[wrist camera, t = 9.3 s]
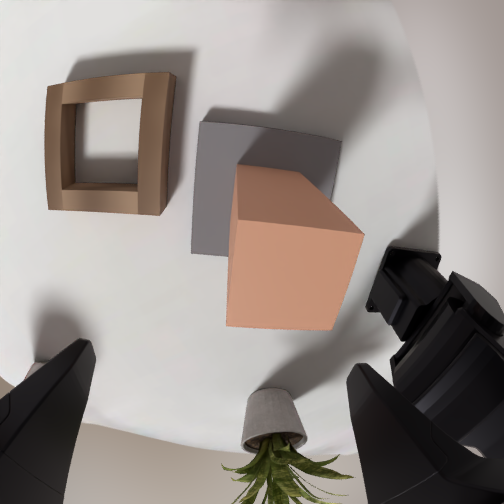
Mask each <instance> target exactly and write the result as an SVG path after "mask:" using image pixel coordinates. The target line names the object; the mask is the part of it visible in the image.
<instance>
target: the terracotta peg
mask: <svg viewBox="0 0 504 504" xmlns="http://www.w3.org/2000/svg"><path fill="white" fill-rule="evenodd" d="M363 238H364V233H363V232H362V231H361V230H360V229H359V228H358V227H357V226H356V225H355V224H354V223H353V222H352V221H351V220H350V219H349V218H348V217H347V216H346V215H345V214H344V213H343V212H342V211H341V210H340V209H339V208H338V207H337V206H336V205H335V204H333V203H332V202H331V201H330V200H329V199H328V198H327V197H326V196H325V195H324V194H323V193H322V192H321V191H320V190H319V189H318V188H316V187H315V186H314V185H313V184H312V183H311V182H310V181H309V180H308V179H307V178H305V177H304V176H303V175H302V174H301V173H300V172H295V171H288V170H281V169H274V168H267V167H259V166H250V165H241V164H237V167H236V175H235V183H234V192H233V201H232V210H231V219H230V235H229V257H228V283H227V314H226V326H231V327H246V328H264V329H287V330H332V328H333V326H334V323H335V321H336V318H337V315H338V313H339V310H340V307H341V305H342V302H343V299H344V296H345V294H346V291H347V288H348V285H349V282H350V279H351V276H352V273H353V270H354V267H355V264H356V261H357V258H358V254H359V251H360V248H361V245H362V241H363Z"/></svg>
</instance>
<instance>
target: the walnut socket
mask: <svg viewBox="0 0 504 504" xmlns="http://www.w3.org/2000/svg"><path fill="white" fill-rule="evenodd" d="M175 84H176V76H174V75H173V74H171V73H170V72H159V73H137V74H124V75H113V76H104V77H96V78H89V79H83V80H77V81H71V82H66V83H61V84H56V85H51V86H48V87H47V97H46V111H45V176H46V190H47V201H48V210H66V211H88V212H107V213H124V214H140V215H155V216H160V215H161V213H162V212H163V211H164V209H165V208H166V207H167V181H168V161H169V145H170V132H171V121H172V110H173V101H174V92H175ZM122 99H142V106H141V118H140V131H139V150H138V184H124V183H75V117H76V104H79V103H88V102H97V101H108V100H122Z"/></svg>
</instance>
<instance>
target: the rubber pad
mask: <svg viewBox="0 0 504 504" xmlns="http://www.w3.org/2000/svg"><path fill="white" fill-rule="evenodd" d="M341 142H342V141H339V140H334V139H330V138H325V137H320V136H315V135H310V134H304V133H298V132H292V131H286V130H280V129H273V128H265V127H258V126H249V125H240V124H230V123H218V122H204V121H200V124H199V134H198V144H197V156H196V168H195V182H194V197H193V216H192V239H191V253H192V254H203V255H215V256H226V257H229V235H230V219H231V210H232V201H233V192H234V183H235V175H236V167H237V164H241V165H250V166H259V167H267V168H274V169H281V170H288V171H295V172H300V173H301V174H302V175H303V176H304V177H305V178H307V179H308V180H309V181H310V182H311V183H312V184H313V185H314V186H315V187H316V188H318V189H319V190H320V191H321V192H322V193H323V194H324V195H325V196H326V197H327V198H328V199H329V200H330V199H331V194H332V189H333V184H334V179H335V174H336V169H337V164H338V159H339V153H340V148H341Z"/></svg>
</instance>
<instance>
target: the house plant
mask: <svg viewBox="0 0 504 504" xmlns="http://www.w3.org/2000/svg"><path fill="white" fill-rule="evenodd" d="M306 442H307V435H306V432H305V430H304V427H303V425H302V423H301V420H300V418H299V415H298V413H297V410H296V408H295V405H294V403H293V400H292V398H291V395H290V394H289V392H287V391H286V390H283V389H279V388H267V389H262V390H258V391H256V392H254V393H253V394H252V395H251V396H250V397H249V398H248V401H247V407H246V414H245V421H244V427H243V434H242V441H241V447H242V449H243V450H244V451H246V452H248V453H251V454H256V456H255V458H254V459H253V460H252V461H251V462H250V463H249V464H248V465H246V466H245V467H242V468H239V469H229V468H226V467H224V466H223V465H222V466H223V469H224V470H229V471H232V470H237V471H235V473H240V474H246V473H247V474H246V475H245V476H243V477H242V478H240V479H238V480H234V479H232V480H233V481H240V482H250V484H249V485H248V487H249V486H250V485H251V483H252V481H254V480H255V479H256V478H257V479H256V481H255V483H254V485H253V486H252V487H251V488H250V490H249V491H248V493H247V495H246V496H245V497H244V498H242V499H241V501H240V502H242V501H243V502H242V503H241V504H253V503H254V501H255V499H256V496H257V494H258V491H259V489H260V488H261V487H262V486H263V485H264V482H265V480H266V478H267V485H268V487H267V491H266V494H265V497H264V499H263V502H262V504H265V501H266V498H267V494H268V504H289V498H288V495H289V497H290V498H291V499H292V500H293V501H294V502H295V503H296V504H302V503H301V502H300V501H299V500H298V499H297V498H296V497H301V496H302V497H304V498H305V499H307V500H309V501H311V502H314V503H319V504H336V503H326V502H322V501H319V500H317V499H314V498H312V497H311V496H313V497H315V498H318V497H316V496H314V495H312V494H311V493H310V492H309V491H308V490H307V489H306V488H305V486H304V485H303V484H302V483H301V482H300V481H299V479H298V478H299V477H297V476H296V475H295V474H294V473H293V472H292V471H291V469H292V468H291V467H290V468H291V469H290V468H289V465H288V464H291V465H292V466H294V467H296V468H298V469H299V470H301V471H303V472H305V473H307V474H310V475H314V476H318V477H323V478H329V479H348V478H353V477H352V476H349V475H341V474H340V473H338V472H336V471H334V470H331V469H327V468H324V467H322V466H324V465H327V464H329V463H331V462H333V461H334V460H336V459H337V457H338V456H339V455H340V454H339V455H338V456H337V457H335V458H333V459H331V460H327V461H323V462H313V461H311V460H310V459H307V458H306V457H304V456H303V455H301V454H299V453H298V452H297V451H296V449H298V448H300V447H301V446H303V445H304V444H305V443H306ZM292 470H293V469H292ZM289 471H290V472H289ZM293 471H294V470H293ZM294 472H295V471H294ZM295 473H296V472H295ZM291 474H292V475H293V476H292V475H291ZM296 474H297V473H296ZM297 475H298V474H297ZM298 476H299V475H298ZM272 477H273V483H272ZM293 478H295V479H296V480H297V481H298V483H299V484H300V485H301V486H302V487H303V488H304V489H305V490H306V492H308V494H310V495H311V496H310V495H308V494H307V493H306V492H305V491H303V490H302V489H301V488H300V487H299V486H298V485H297V484H296V483H295V482H294V480H293ZM303 480H304V479H303ZM304 481H305V480H304ZM248 487H247V488H248ZM247 488H246V489H245V490H244V491H243V493H244V492H245V491H246V490H247ZM322 491H323V490H322ZM243 493H242V494H243ZM326 493H327V492H326ZM242 494H240V495H239V497H240V496H241V495H242ZM329 494H331V493H329ZM332 495H333V494H332ZM334 495H335V494H334ZM339 496H340V495H339ZM341 496H342V495H341ZM239 497H238V498H239ZM238 498H237V499H238ZM237 499H236V500H237ZM318 499H321V498H318ZM236 500H235V501H234V502H233V503H235V502H236ZM273 502H274V503H273ZM233 503H232V504H233Z"/></svg>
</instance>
